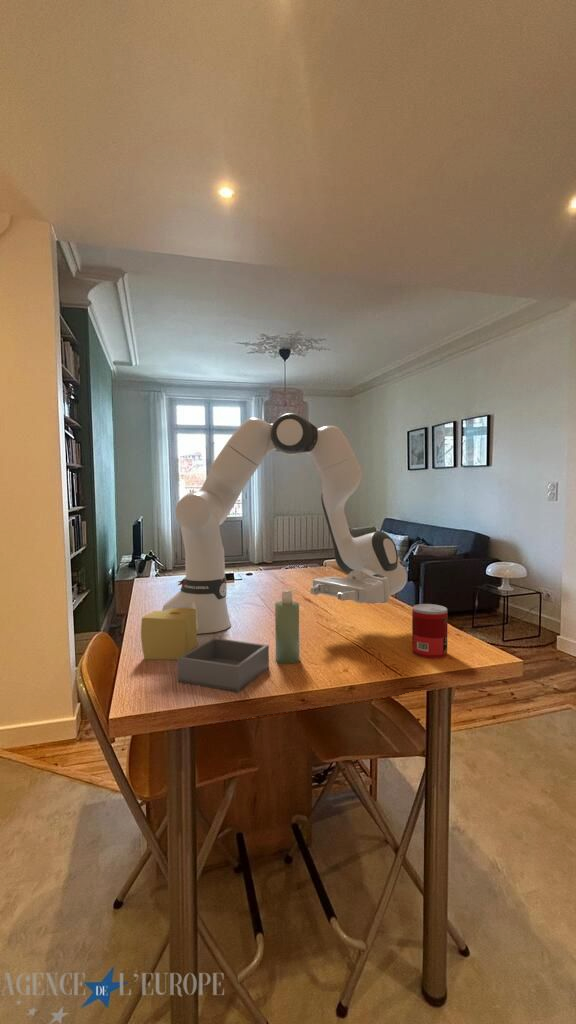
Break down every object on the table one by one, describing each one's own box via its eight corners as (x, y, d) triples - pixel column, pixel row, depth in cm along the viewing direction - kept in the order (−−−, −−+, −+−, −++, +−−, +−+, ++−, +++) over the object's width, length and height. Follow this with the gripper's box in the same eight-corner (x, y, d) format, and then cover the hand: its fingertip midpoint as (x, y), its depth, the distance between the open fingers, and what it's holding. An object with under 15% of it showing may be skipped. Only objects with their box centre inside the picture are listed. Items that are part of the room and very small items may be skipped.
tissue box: (158, 645, 120) (157, 606, 120) (199, 646, 119) (198, 607, 119) (140, 660, 110) (139, 617, 110) (185, 661, 109) (185, 618, 108)
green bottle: (271, 661, 108) (271, 592, 107) (281, 654, 113) (280, 587, 112) (294, 665, 106) (293, 594, 105) (302, 657, 111) (302, 589, 110)
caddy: (178, 681, 97) (177, 657, 97) (214, 659, 110) (213, 637, 110) (238, 692, 92) (238, 667, 92) (268, 667, 105) (268, 645, 104)
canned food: (452, 658, 109) (452, 611, 108) (417, 659, 109) (417, 611, 108) (441, 647, 117) (441, 603, 116) (408, 648, 117) (408, 603, 116)
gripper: (333, 569, 133) (297, 576, 124) (393, 578, 118) (356, 586, 109) (333, 591, 134) (297, 600, 125) (393, 603, 118) (357, 613, 109)
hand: (325, 594), depth 117 cm, fingers open, 8 cm apart
